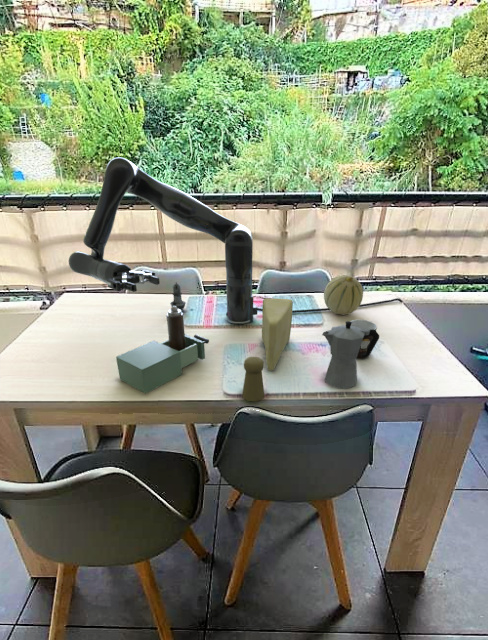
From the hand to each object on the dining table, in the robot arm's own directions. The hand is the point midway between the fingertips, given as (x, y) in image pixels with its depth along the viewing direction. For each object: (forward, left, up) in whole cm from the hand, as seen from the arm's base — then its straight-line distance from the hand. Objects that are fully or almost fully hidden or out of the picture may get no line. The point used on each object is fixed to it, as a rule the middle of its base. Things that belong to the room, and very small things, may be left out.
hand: (147, 284), depth 123 cm
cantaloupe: (-71, -20, -22) cm, 77 cm away
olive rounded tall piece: (-26, +31, -22) cm, 46 cm away
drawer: (-9, +8, -21) cm, 24 cm away
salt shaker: (-9, -32, -22) cm, 40 cm away
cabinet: (+1, +17, -22) cm, 27 cm away
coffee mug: (-62, +13, -22) cm, 67 cm away
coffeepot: (-53, +28, -22) cm, 64 cm away
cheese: (-37, +9, -22) cm, 44 cm away
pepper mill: (-7, +9, -20) cm, 23 cm away
